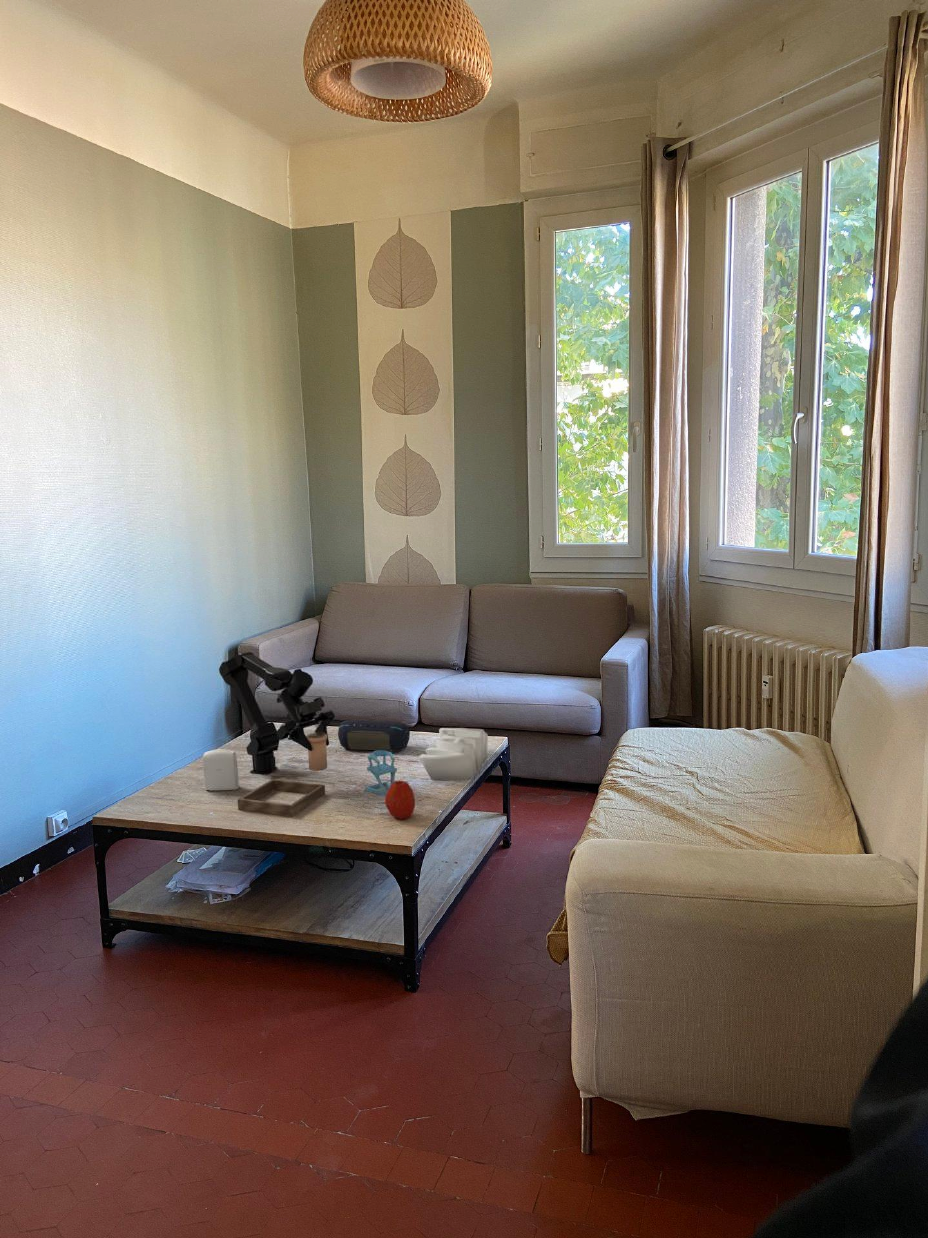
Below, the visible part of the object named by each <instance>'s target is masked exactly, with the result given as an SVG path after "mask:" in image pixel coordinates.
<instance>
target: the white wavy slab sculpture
mask: <svg viewBox="0 0 928 1238" xmlns="http://www.w3.org/2000/svg"><path fill="white" fill-rule="evenodd" d="M438 732H439V733H438V734H439V738H436V739H434V744H435V746H436V747H427V748H426V749H425V753H426V754H424V753H422V754H420V755H419V756H418V759H419V761H420V763H421V764H422V767H423V768H424V769H425V771H426V772H427V775H428V776H429V778H430V779H431V780H432V779H434V781H442V780H444V781H445V782H446V781H447V782H449V781H451V782H452V781H453V782H454V781H466V780H472V779H475V776H476V775H478V774H477V771H481V768H483V765H484V764H485V763H486V761H487V760H488V748H489V747H488V746H489V745H488V743H489V742H488V738H489V737H488V735H489V734H488V733H487V732H485V729H483V728H482V729H481V728H465V727H459V728H458V727H455V728H454V727H441V728H439V730H438Z"/></svg>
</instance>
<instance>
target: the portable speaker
mask: <svg viewBox="0 0 928 1238" xmlns="http://www.w3.org/2000/svg"><path fill="white" fill-rule="evenodd" d="M410 735H411V731H410V727H409V726H408V725H407V724H405V723H403V722H399V721H385V720H384V721H381V720H359V719H358V720H357V719H349V720H344V721H341V722H340V723H339V725H338V730H337V738H338V741H339V744H340V746H341V747H343V748H344V749H347V750H361V751H362V750H363V751H364V750H365V751H377V750H382V751H388V752H401V751H403V750H405V749H406V748H407V746H408V743H409V741H410Z"/></svg>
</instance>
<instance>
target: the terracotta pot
mask: <svg viewBox="0 0 928 1238" xmlns="http://www.w3.org/2000/svg"><path fill="white" fill-rule="evenodd" d="M327 734H328V733H327ZM327 734H325V733H315V732H312V733H309V734H307V735H306V737H307V739H308V741H309V742H310V744H311V746H312V748H313V750H312V751H309V750H308V749H307V757H308V769H309V770H310V771H313V772H321V771H325V770H327V768H328V757H327V753H328V752H327V746H326V740H327Z"/></svg>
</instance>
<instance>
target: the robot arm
mask: <svg viewBox="0 0 928 1238" xmlns="http://www.w3.org/2000/svg"><path fill="white" fill-rule="evenodd" d="M218 672H219V675H220V676H221V678H222V680H223V681H224V683H225V684H226V685H228V686H229V687H231V688H232V689H233V691H234V693H235V696H236V697H237V700H238V702H239V704H240V706H241V709H242V711H243V713H244V715H245V717H246V720H247V721H248V724H249V727H250V733H249V739H250V742H249V743H248V745H247V746H246V748H245V749H246V752H247V755H248V756H251V760H252V769H251V770H250V772H249V773H251V774H260V775H268V774H270V773H272V772H274V771H275V770H277V769H278V766H276V765H277V763H276V757H275V752H276V751H278V750H279V745H280V740H281V741H283V740H288V741H293V742H294V743H296V744H297V745H300V746H302V747H303V748H305V749H306V750H307V751H308V750H309V751H312V750H313V748H312V746H311V744H310V742H309V741H308V739H307V737H306V736H307V735H306V734H305V729H306V728H310V727H312V726H314V727H315V730H314V733H325V734H327V740H326V747H328V746H329V745H330V741H329V740H330V739H329V734H328V726H330V724H331V723H332V721H334V719H335V718H336V714H335V713H334V711H333V710H330V709H329V710H325V711H322V710H323V708H324V707H325V706H326V704H325V701H324V699H323V698H322V696H320V697H316V698H314V699H313V701H310V702H308V701H304V700H303V698H302V697H304V696H305V694H306V693H307V692H308V691H309V689H310V688H311V686H313V683H314V679H313V676H312V675H311V674H309V673H308V672H306V671H302V669H301V668H296V669H294V670H293V673H292V671H290V670H289V669H286V668H283V667H277V666H276V667H275V666H273V665H271V664H269V663H267V662H266V661H264V660H262V659H261V658H260V657H258V656H257V655H255V654H254V653H253V651H246V652H240V653H238V654H237V655H235V656H234V657H232V658H230V659H228V660H226V661H223V662H221V664H220V666H219V668H218ZM249 672H251V673H253V674H255V675H256V676H257V677H259V678H261V679H262V680H263V681H264V685H265V686H266V687H267V688H268V689H269V690H270V691H271V692H278V691H281V692H280V693H278V694H277V697H276V704H279V703H282V704H283V706H284V708H285V710H286V711H287V714H286V717H287V718H288V719H289V718H290V719H291V720H287V721H285V722H284V721H283V722H282V724H281V725H280V726H279V728H278V729H277V728H276V725H275V723H274V722H273V721H271V722H268V721H267V720H266V719H265V717H264V715H263V712H262V710H261V708H260V706H259V704H258V701H257V699H256V697H255V695H254V693H253V690H252V689H251V686H250V684H249V681H248V680H249V676H250V675H249V674H250V673H249ZM319 711H320V713H319V714H318V716H317V712H319ZM316 716H317V717H316ZM314 717H316V718H314Z"/></svg>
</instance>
